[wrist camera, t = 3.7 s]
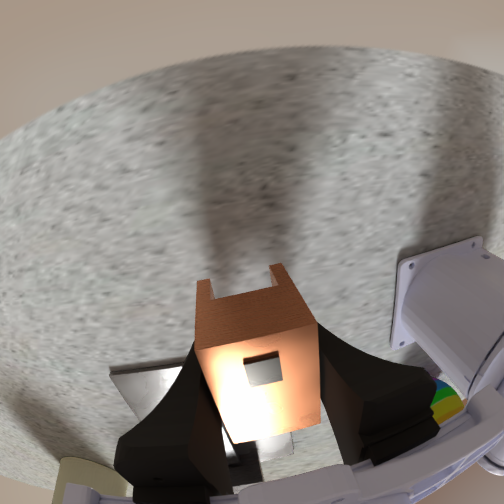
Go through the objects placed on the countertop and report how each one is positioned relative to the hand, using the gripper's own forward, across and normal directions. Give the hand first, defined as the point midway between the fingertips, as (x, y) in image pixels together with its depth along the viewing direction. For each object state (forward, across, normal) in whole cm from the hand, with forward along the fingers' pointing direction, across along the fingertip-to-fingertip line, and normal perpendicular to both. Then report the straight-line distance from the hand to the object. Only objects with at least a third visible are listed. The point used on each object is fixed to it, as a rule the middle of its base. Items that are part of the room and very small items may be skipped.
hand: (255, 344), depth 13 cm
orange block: (+2, 0, 0) cm, 2 cm away
